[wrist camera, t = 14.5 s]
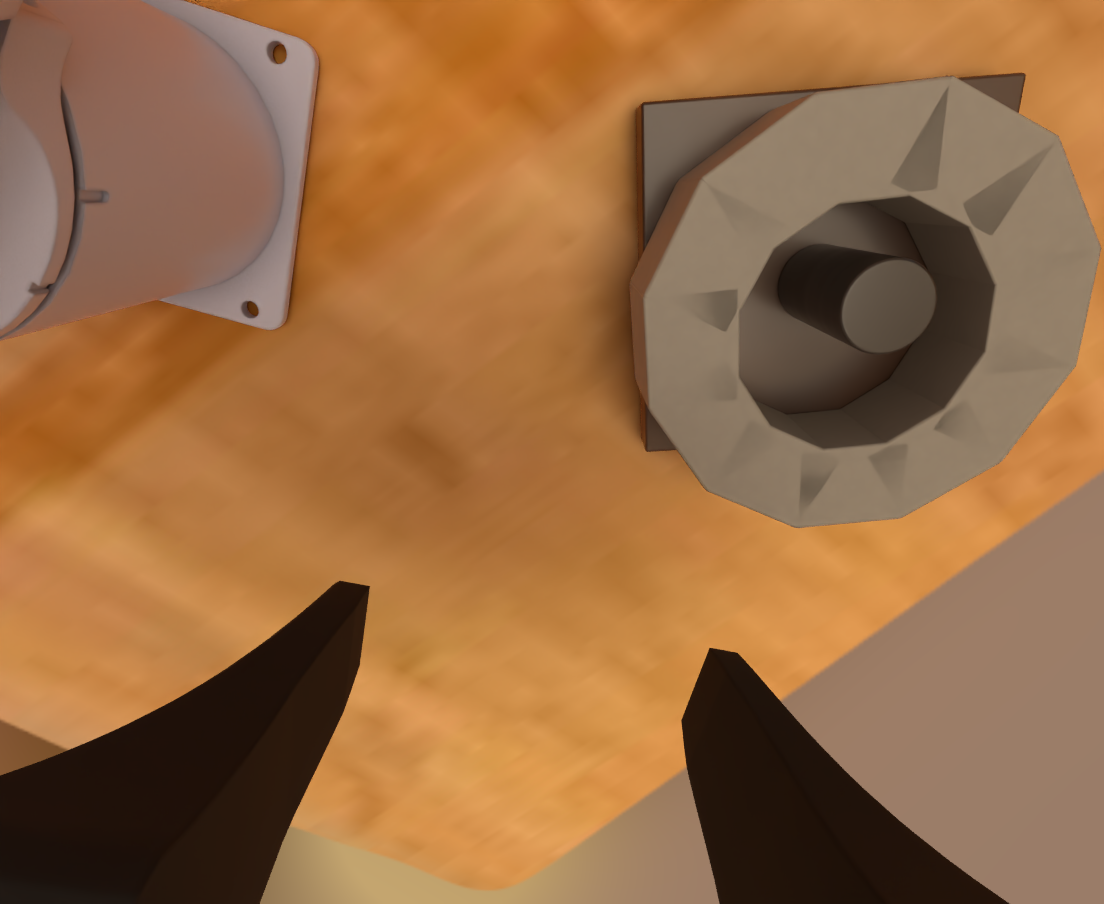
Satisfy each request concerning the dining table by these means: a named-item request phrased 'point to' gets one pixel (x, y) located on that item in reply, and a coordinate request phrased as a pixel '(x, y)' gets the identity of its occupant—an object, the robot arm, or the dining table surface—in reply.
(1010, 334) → the tape roll
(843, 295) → the stand
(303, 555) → the dining table surface
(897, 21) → the dining table surface
